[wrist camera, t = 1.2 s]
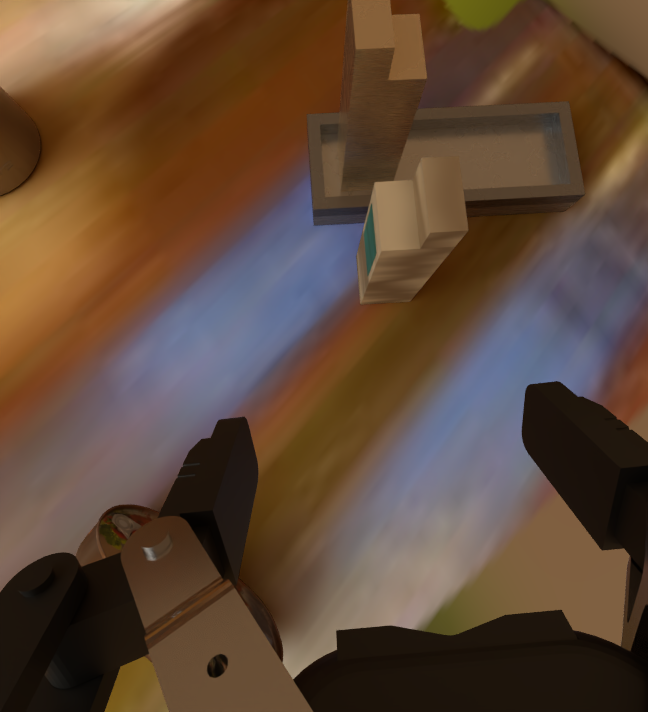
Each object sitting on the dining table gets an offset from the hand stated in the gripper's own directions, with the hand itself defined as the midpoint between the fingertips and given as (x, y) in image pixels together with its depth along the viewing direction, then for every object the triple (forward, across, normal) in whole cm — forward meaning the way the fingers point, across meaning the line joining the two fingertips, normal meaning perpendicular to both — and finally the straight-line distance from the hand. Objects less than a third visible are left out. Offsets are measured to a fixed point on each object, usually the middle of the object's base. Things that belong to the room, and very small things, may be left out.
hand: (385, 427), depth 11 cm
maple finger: (+24, -3, +2) cm, 24 cm away
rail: (+29, -9, -6) cm, 31 cm away
